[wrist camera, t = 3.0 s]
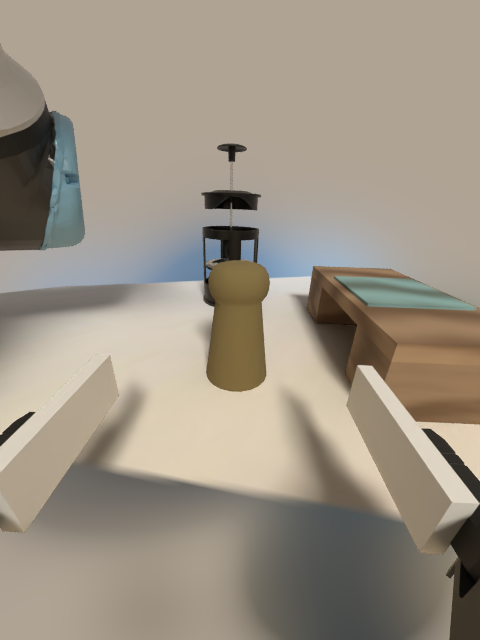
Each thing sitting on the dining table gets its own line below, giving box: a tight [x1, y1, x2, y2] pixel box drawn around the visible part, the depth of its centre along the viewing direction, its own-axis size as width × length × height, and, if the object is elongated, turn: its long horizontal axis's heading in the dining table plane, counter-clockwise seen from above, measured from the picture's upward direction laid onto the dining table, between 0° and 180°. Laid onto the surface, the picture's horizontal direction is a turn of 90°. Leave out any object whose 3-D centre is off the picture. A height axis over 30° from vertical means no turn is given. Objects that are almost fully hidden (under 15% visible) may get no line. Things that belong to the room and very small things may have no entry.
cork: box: [206, 260, 270, 392], centre depth 23 cm, size 6×6×11 cm
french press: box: [202, 144, 261, 307], centre depth 40 cm, size 12×9×23 cm
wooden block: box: [307, 266, 480, 424], centre depth 29 cm, size 24×12×7 cm, turn 178°
